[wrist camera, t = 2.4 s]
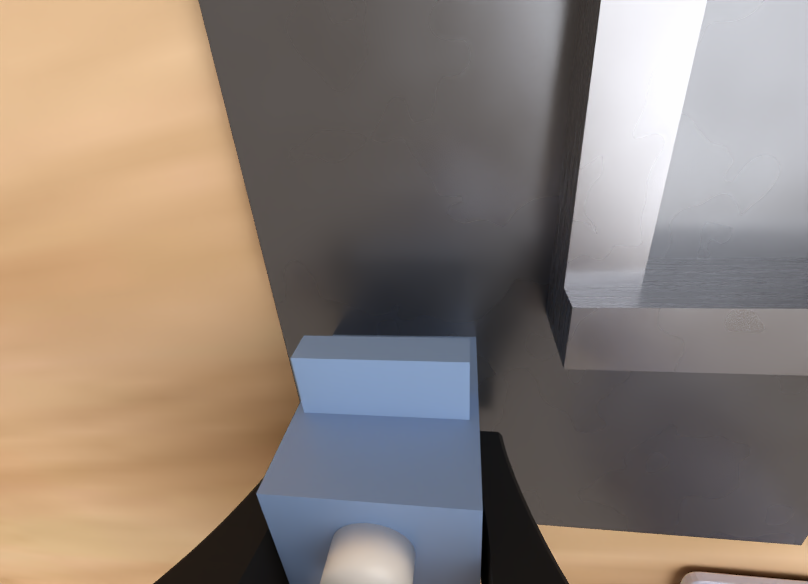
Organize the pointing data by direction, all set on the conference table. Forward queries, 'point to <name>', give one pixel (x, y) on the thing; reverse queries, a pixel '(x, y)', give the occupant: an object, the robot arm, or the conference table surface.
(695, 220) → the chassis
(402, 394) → the servo
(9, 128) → the conference table surface
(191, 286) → the conference table surface
